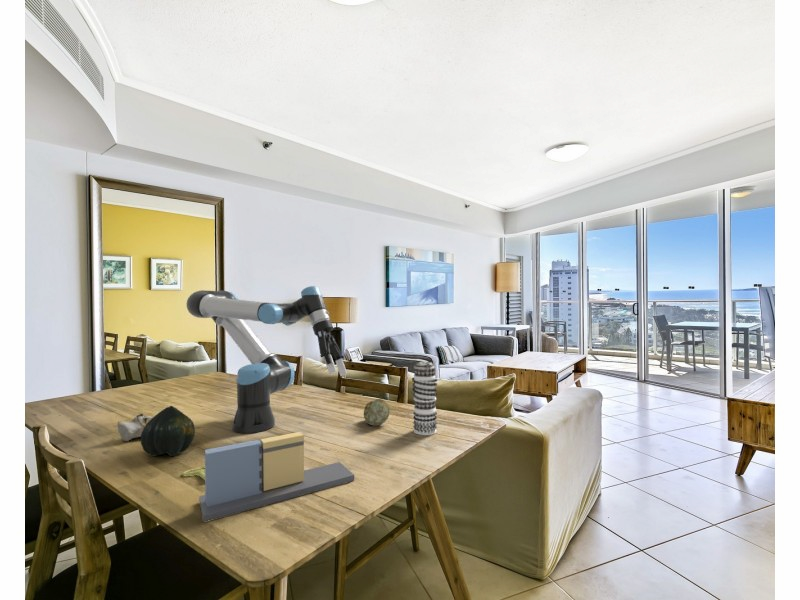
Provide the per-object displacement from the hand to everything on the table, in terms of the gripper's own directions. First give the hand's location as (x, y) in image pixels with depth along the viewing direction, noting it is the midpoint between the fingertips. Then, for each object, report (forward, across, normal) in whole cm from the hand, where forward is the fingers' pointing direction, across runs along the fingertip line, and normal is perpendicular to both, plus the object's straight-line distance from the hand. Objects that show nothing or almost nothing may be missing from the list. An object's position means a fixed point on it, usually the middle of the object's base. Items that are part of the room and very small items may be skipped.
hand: (338, 374), depth 146 cm
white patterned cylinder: (+31, +5, -22) cm, 38 cm away
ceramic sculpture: (-4, -13, +71) cm, 72 cm away
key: (+18, -37, +36) cm, 55 cm away
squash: (+6, -24, +54) cm, 59 cm away
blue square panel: (+26, -50, +20) cm, 60 cm away
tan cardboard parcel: (+28, -42, +11) cm, 52 cm away
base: (+29, -42, +12) cm, 53 cm away
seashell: (+22, +12, -4) cm, 25 cm away
